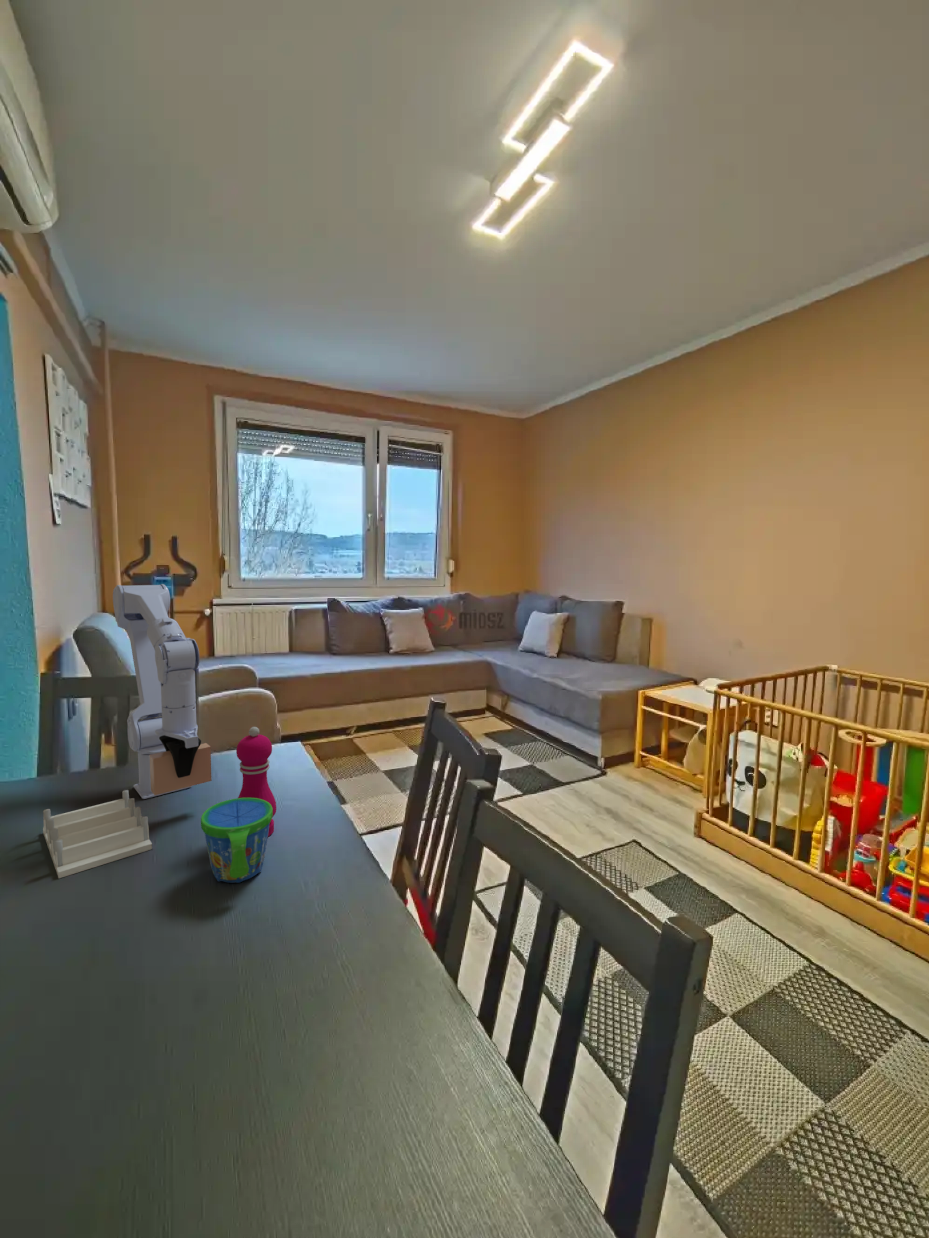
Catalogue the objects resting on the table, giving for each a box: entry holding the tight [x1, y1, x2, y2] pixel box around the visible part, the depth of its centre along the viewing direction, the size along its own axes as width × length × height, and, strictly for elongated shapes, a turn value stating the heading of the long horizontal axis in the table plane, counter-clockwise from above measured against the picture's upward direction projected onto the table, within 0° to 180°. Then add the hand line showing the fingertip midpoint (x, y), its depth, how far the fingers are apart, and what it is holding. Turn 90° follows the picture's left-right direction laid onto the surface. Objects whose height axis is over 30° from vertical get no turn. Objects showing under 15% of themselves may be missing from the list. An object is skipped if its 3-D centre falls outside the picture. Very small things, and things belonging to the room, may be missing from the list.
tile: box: [149, 742, 212, 796], centre depth 104 cm, size 10×2×7 cm, turn 134°
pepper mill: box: [235, 726, 277, 838], centre depth 99 cm, size 7×7×20 cm
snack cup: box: [200, 797, 274, 884], centre depth 87 cm, size 16×10×10 cm
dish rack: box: [42, 789, 153, 879], centre depth 95 cm, size 13×18×5 cm
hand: (181, 773), depth 104 cm, fingers closed on tile, 2 cm apart
